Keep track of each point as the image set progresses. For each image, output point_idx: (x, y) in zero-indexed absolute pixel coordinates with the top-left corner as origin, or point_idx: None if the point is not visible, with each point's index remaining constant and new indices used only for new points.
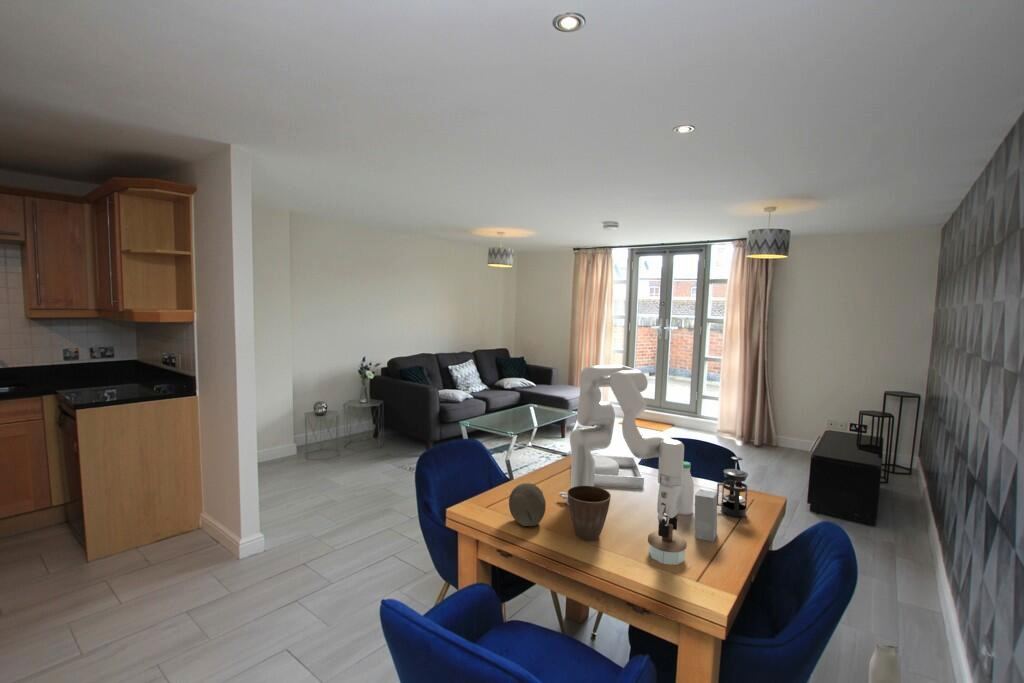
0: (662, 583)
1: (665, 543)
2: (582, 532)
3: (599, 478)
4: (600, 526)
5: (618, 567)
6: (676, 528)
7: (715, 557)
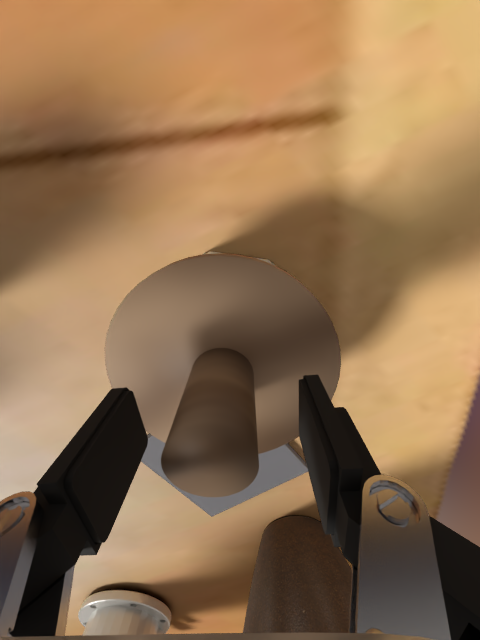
0: (456, 243)
1: (273, 363)
2: None
3: None
4: (326, 585)
5: (421, 411)
6: (120, 393)
7: (15, 149)
